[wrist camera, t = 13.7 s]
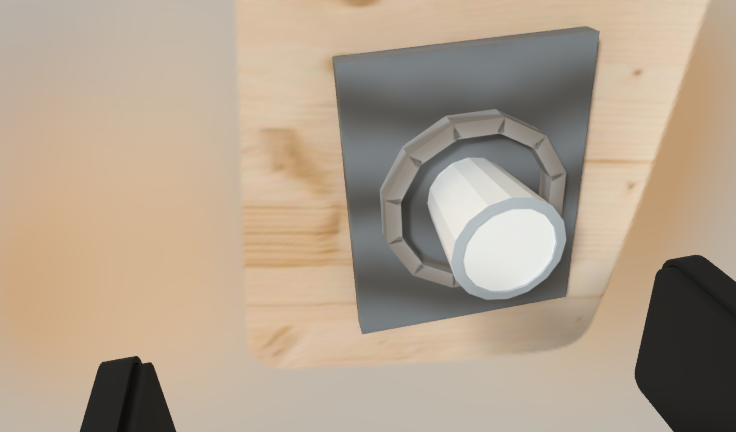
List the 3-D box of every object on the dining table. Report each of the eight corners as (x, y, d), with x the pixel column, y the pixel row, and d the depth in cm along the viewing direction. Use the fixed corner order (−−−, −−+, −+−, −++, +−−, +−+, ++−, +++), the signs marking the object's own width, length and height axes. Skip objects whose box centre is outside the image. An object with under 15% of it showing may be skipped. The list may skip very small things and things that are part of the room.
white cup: (533, 160, 38) (588, 210, 32) (493, 247, 41) (536, 308, 35) (439, 137, 36) (479, 186, 30) (404, 231, 39) (434, 293, 33)
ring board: (332, 56, 34) (340, 70, 31) (586, 26, 36) (613, 36, 34) (358, 321, 44) (366, 348, 41) (556, 285, 46) (575, 308, 44)
